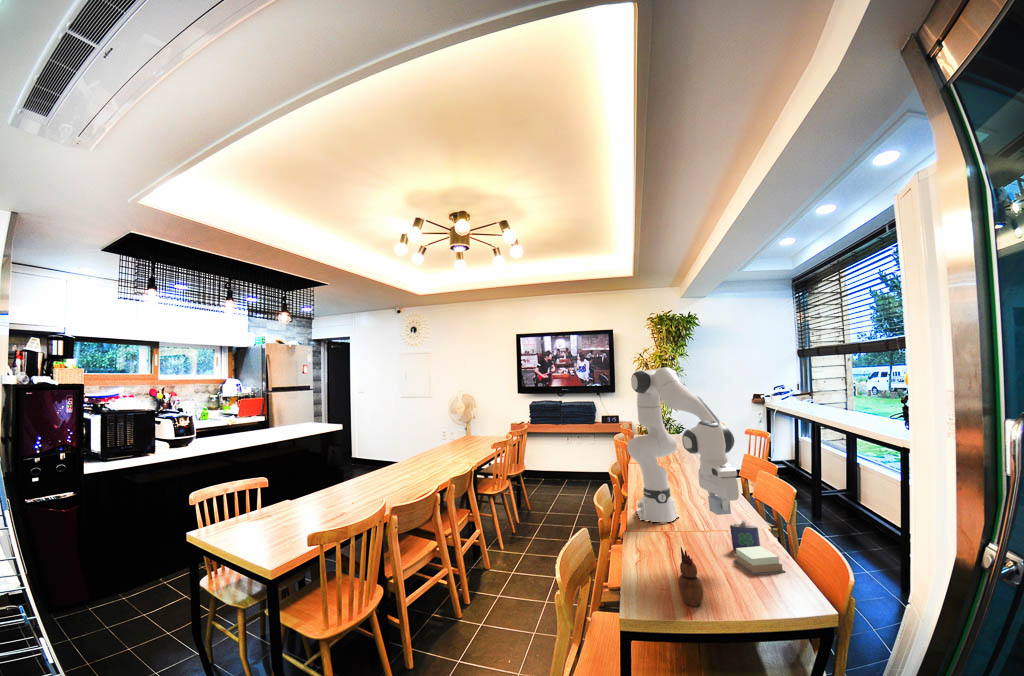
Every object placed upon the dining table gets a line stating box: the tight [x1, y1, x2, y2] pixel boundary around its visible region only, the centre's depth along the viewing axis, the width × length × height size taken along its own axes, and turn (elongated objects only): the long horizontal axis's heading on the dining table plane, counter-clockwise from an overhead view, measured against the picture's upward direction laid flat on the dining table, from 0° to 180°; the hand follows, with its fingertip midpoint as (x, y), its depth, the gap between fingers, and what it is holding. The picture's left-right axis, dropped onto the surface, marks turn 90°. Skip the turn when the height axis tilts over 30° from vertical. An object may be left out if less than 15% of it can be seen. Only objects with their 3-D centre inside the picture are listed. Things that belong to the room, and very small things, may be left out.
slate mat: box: [732, 559, 786, 576], centre depth 137 cm, size 11×11×1 cm
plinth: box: [734, 545, 784, 573], centre depth 137 cm, size 10×10×4 cm
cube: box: [707, 495, 732, 516], centre depth 143 cm, size 5×5×5 cm
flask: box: [729, 520, 761, 552], centre depth 150 cm, size 9×3×11 cm, turn 68°
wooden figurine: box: [678, 546, 704, 607], centre depth 118 cm, size 7×6×15 cm
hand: (719, 507), depth 143 cm, fingers closed on cube, 5 cm apart
